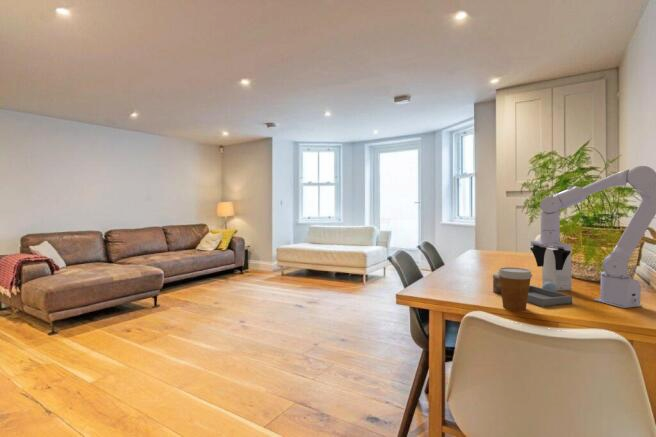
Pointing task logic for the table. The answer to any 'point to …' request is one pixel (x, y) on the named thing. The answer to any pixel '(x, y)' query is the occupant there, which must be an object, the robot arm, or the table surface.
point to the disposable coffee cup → (514, 287)
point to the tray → (547, 297)
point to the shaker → (496, 284)
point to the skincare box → (556, 271)
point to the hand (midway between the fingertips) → (549, 268)
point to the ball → (549, 286)
